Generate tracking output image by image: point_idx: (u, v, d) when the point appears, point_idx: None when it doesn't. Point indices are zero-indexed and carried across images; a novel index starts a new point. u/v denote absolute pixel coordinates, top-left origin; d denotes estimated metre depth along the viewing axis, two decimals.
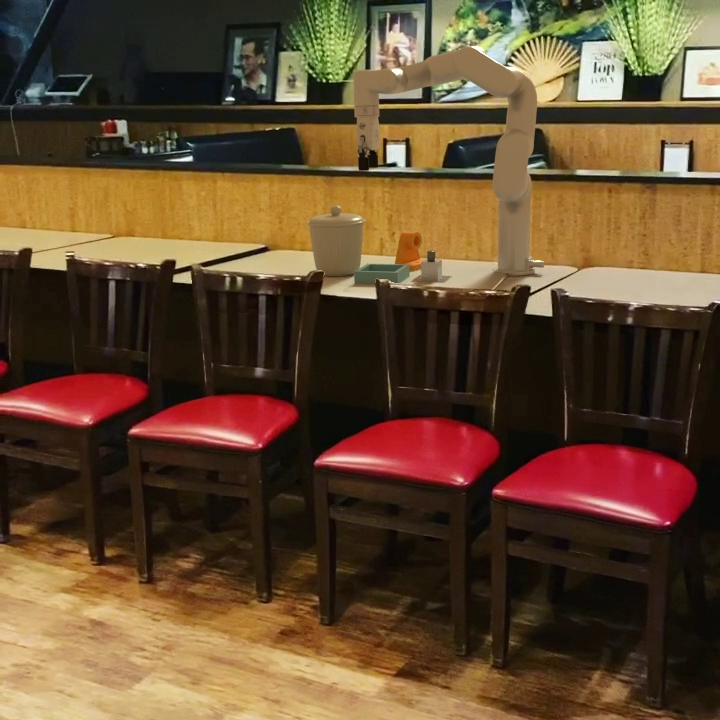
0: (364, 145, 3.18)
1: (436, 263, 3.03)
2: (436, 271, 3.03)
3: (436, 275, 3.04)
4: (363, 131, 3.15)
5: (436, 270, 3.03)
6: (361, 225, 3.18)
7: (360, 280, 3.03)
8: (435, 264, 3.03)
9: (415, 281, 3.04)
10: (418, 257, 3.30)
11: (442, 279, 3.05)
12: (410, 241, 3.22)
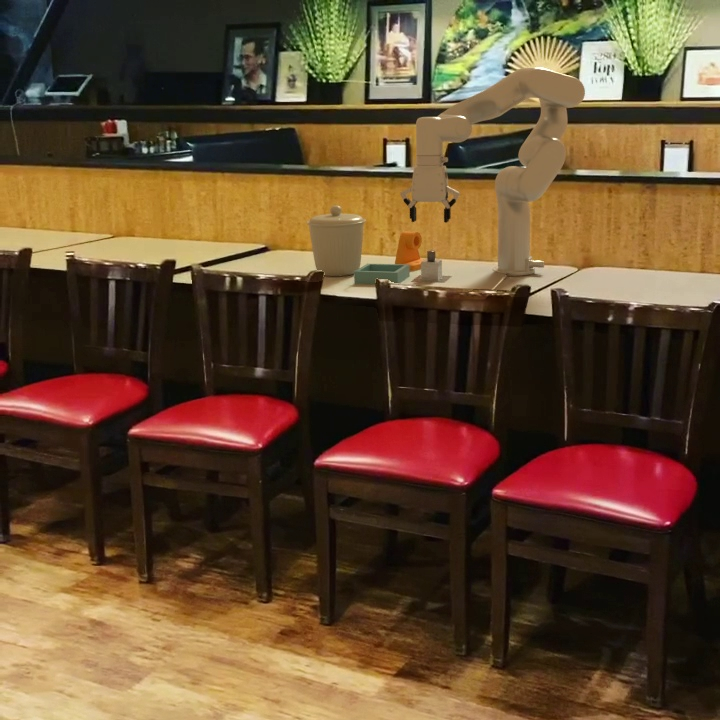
0: None
1: (436, 263, 3.03)
2: (436, 271, 3.03)
3: (436, 275, 3.04)
4: (447, 181, 2.98)
5: (436, 270, 3.03)
6: (361, 225, 3.18)
7: (360, 280, 3.03)
8: (435, 264, 3.03)
9: (415, 281, 3.04)
10: (418, 257, 3.30)
11: (442, 279, 3.05)
12: (410, 241, 3.22)
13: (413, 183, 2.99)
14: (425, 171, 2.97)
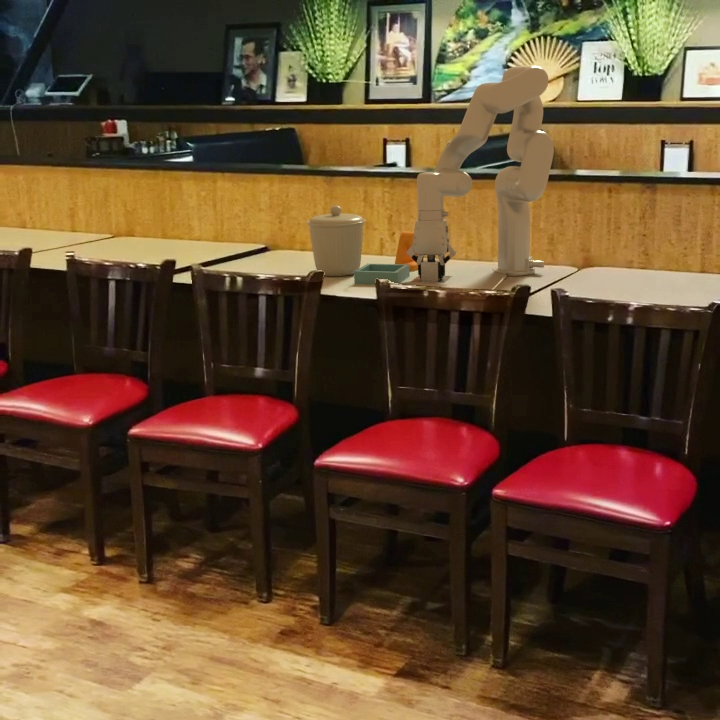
0: None
1: (436, 263, 3.03)
2: (436, 271, 3.03)
3: (436, 275, 3.04)
4: (448, 234, 3.02)
5: (436, 270, 3.03)
6: (361, 225, 3.18)
7: (360, 280, 3.03)
8: (435, 264, 3.03)
9: (415, 281, 3.04)
10: None
11: (442, 279, 3.05)
12: (410, 241, 3.22)
13: (414, 237, 3.03)
14: (426, 225, 3.01)
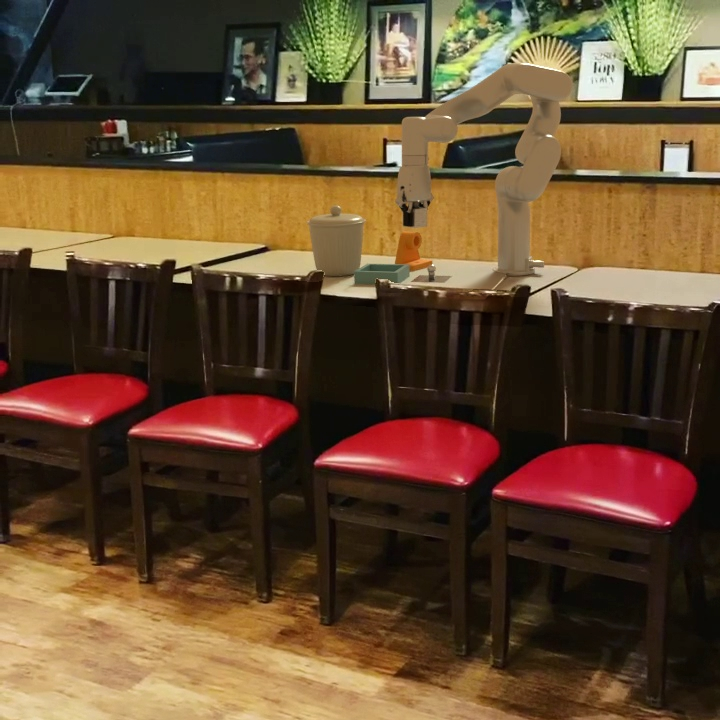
0: None
1: (426, 209, 3.01)
2: (426, 217, 3.02)
3: (426, 221, 3.02)
4: None
5: (426, 216, 3.02)
6: (361, 225, 3.18)
7: (360, 280, 3.03)
8: (425, 210, 3.01)
9: (415, 281, 3.04)
10: (418, 257, 3.30)
11: (442, 279, 3.05)
12: (410, 241, 3.22)
13: (409, 184, 2.96)
14: (419, 171, 2.97)
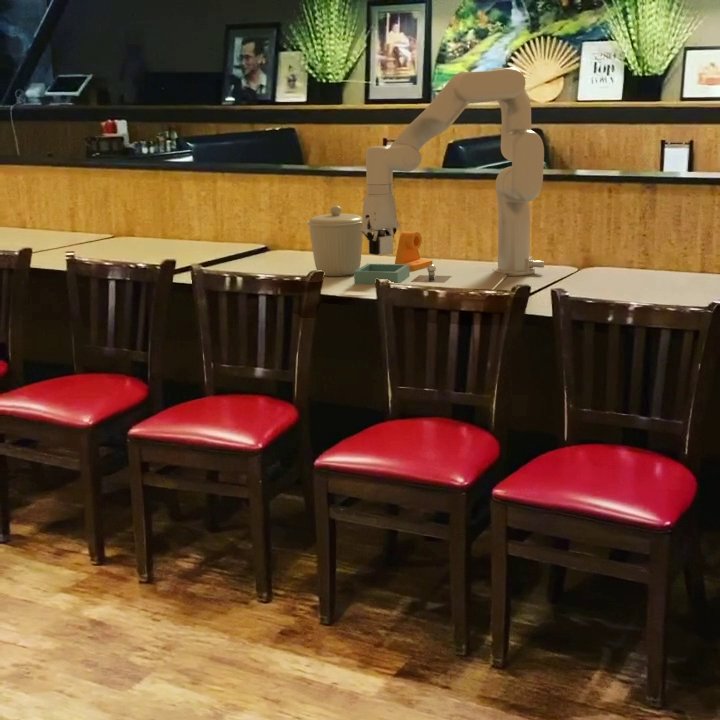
0: None
1: (392, 236, 3.04)
2: (392, 244, 3.05)
3: (392, 248, 3.05)
4: None
5: (392, 243, 3.05)
6: (361, 225, 3.18)
7: (360, 280, 3.03)
8: (391, 237, 3.04)
9: (415, 281, 3.04)
10: (418, 257, 3.30)
11: (442, 279, 3.05)
12: (410, 241, 3.22)
13: (373, 212, 2.98)
14: (384, 199, 3.00)
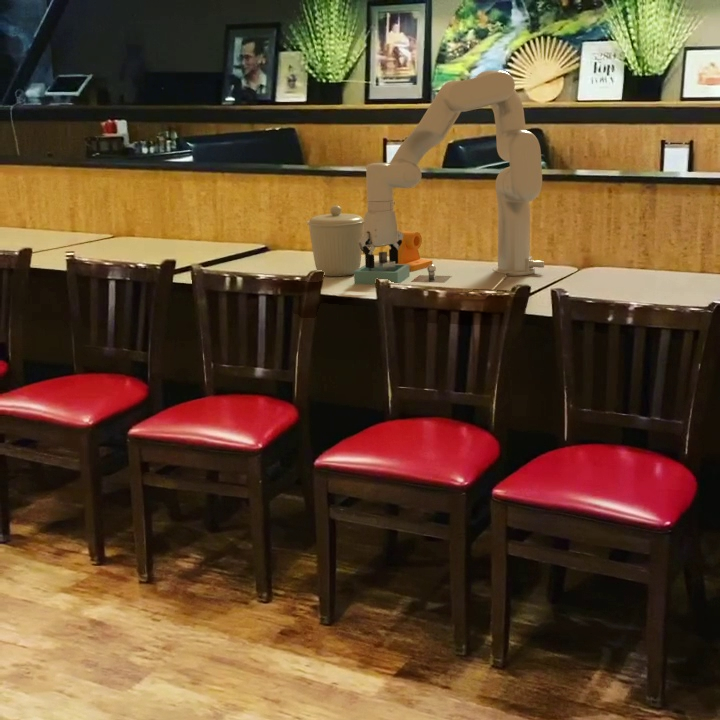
0: None
1: (394, 262, 3.07)
2: (394, 270, 3.07)
3: None
4: None
5: (394, 269, 3.07)
6: (361, 225, 3.18)
7: (360, 280, 3.03)
8: (393, 263, 3.06)
9: (415, 281, 3.04)
10: (418, 257, 3.30)
11: (442, 279, 3.05)
12: (410, 241, 3.22)
13: (374, 229, 3.00)
14: (384, 216, 3.01)
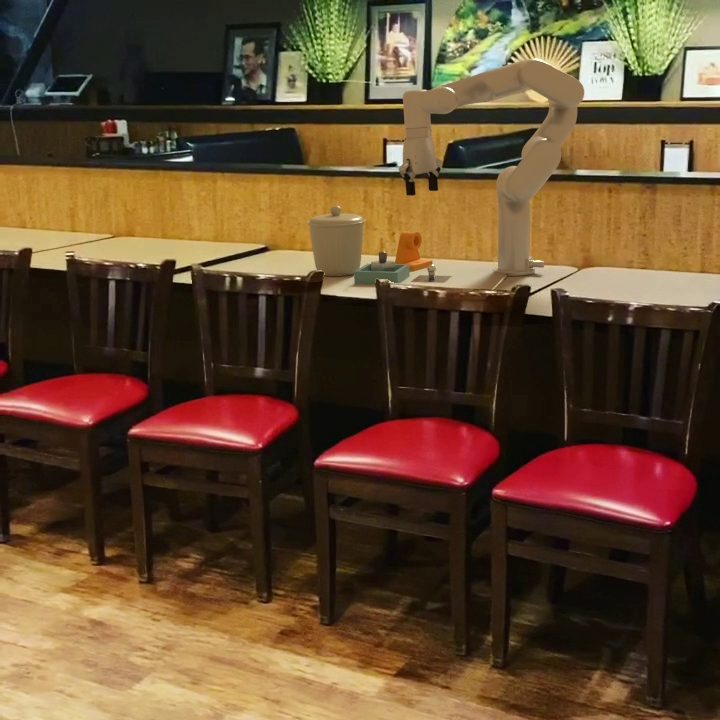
0: None
1: (394, 262, 3.07)
2: (394, 270, 3.07)
3: None
4: None
5: (394, 269, 3.07)
6: (361, 225, 3.18)
7: (360, 280, 3.03)
8: (393, 263, 3.06)
9: (415, 281, 3.04)
10: (418, 257, 3.30)
11: (442, 279, 3.05)
12: (410, 241, 3.22)
13: (414, 156, 3.02)
14: (423, 142, 3.03)
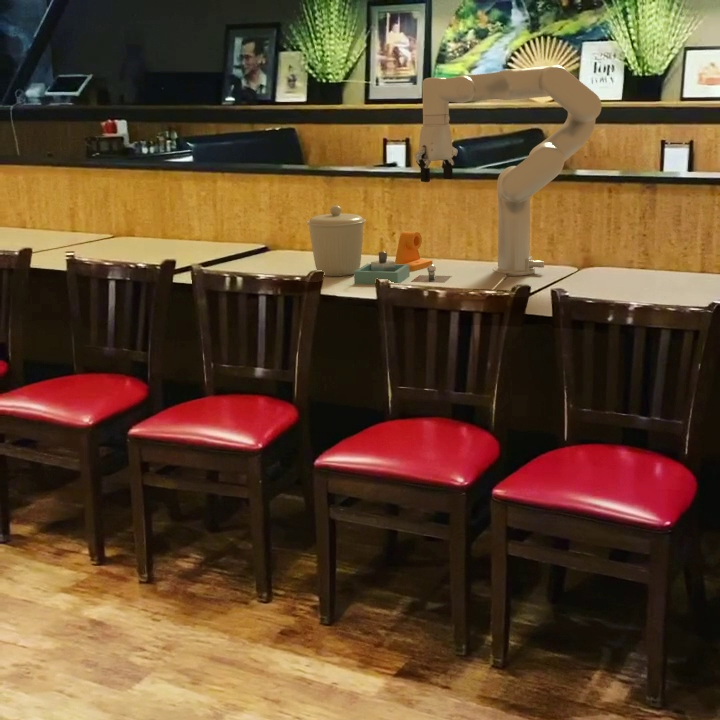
0: None
1: (394, 262, 3.07)
2: (394, 270, 3.07)
3: None
4: None
5: (394, 269, 3.07)
6: (361, 225, 3.18)
7: (360, 280, 3.03)
8: (393, 263, 3.06)
9: (415, 281, 3.04)
10: (418, 257, 3.30)
11: (442, 279, 3.05)
12: (410, 241, 3.22)
13: (430, 143, 3.04)
14: (440, 130, 3.05)
